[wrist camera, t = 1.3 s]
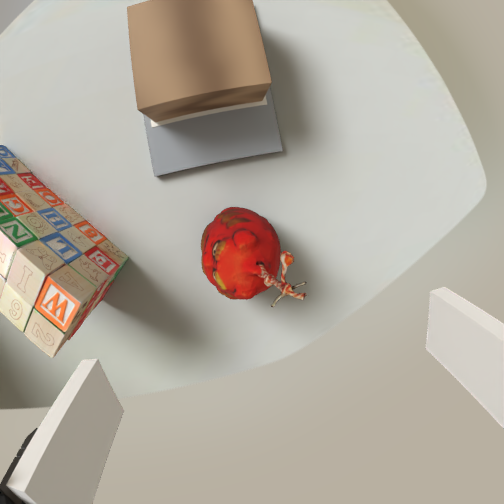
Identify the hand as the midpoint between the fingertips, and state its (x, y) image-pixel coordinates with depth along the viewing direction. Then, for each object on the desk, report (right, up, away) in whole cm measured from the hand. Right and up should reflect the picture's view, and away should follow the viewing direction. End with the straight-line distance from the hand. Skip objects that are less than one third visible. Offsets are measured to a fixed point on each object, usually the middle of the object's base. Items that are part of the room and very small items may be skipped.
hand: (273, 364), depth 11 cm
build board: (-5, +20, +15) cm, 26 cm away
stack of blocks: (-23, +8, +17) cm, 30 cm away
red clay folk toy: (-2, +5, +20) cm, 20 cm away
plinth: (-6, +22, +14) cm, 26 cm away
